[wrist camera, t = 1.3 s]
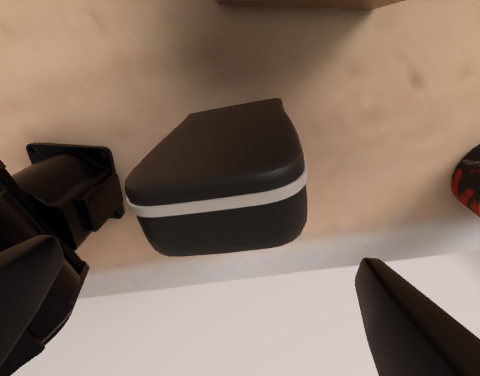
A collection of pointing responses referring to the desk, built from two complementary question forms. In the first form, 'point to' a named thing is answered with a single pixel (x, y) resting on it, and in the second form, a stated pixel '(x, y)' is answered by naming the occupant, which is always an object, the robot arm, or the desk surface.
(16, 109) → the desk surface
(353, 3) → the shelf
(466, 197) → the deodorant
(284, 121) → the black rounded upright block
